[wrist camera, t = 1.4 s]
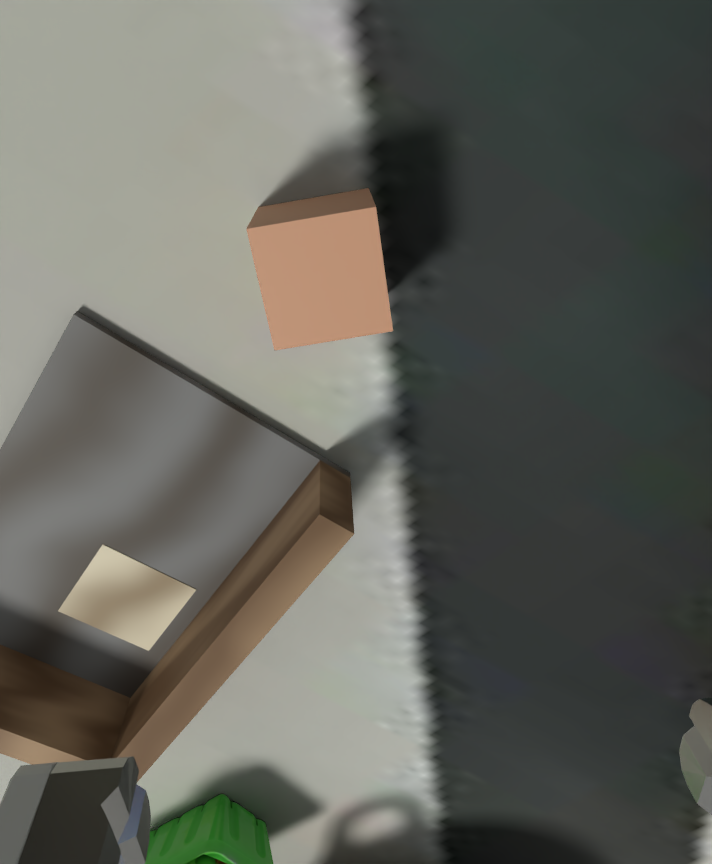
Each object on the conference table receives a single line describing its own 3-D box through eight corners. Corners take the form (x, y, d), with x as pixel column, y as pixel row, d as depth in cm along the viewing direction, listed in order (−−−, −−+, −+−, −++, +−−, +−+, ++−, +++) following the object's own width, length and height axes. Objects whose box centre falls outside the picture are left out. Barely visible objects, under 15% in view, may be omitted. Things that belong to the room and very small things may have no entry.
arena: (350, 473, 36) (354, 533, 31) (145, 719, 44) (123, 797, 40) (77, 311, 31) (31, 353, 26) (-94, 623, 40) (-152, 698, 35)
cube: (368, 187, 29) (376, 206, 25) (383, 296, 31) (393, 331, 27) (258, 206, 29) (246, 228, 25) (281, 312, 32) (274, 350, 27)
